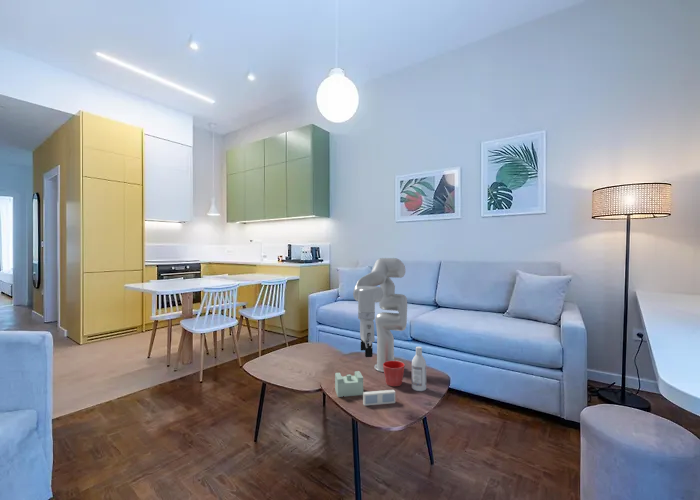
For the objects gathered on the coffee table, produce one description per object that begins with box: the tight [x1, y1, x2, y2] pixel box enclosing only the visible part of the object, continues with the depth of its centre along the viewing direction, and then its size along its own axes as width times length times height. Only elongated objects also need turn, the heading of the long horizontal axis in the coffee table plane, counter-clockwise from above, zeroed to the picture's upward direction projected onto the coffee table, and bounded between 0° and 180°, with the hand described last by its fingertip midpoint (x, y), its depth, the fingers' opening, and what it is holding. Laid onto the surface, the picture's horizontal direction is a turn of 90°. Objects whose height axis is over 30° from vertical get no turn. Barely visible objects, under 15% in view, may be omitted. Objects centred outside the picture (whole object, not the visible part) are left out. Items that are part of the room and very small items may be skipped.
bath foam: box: [411, 346, 427, 392], centre depth 153 cm, size 7×7×20 cm
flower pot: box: [383, 360, 406, 387], centre depth 159 cm, size 11×11×10 cm
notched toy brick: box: [334, 370, 364, 398], centre depth 149 cm, size 12×8×8 cm, turn 101°
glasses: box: [362, 389, 396, 406], centre depth 139 cm, size 14×3×5 cm, turn 100°
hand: (366, 353), depth 143 cm, fingers open, 9 cm apart
